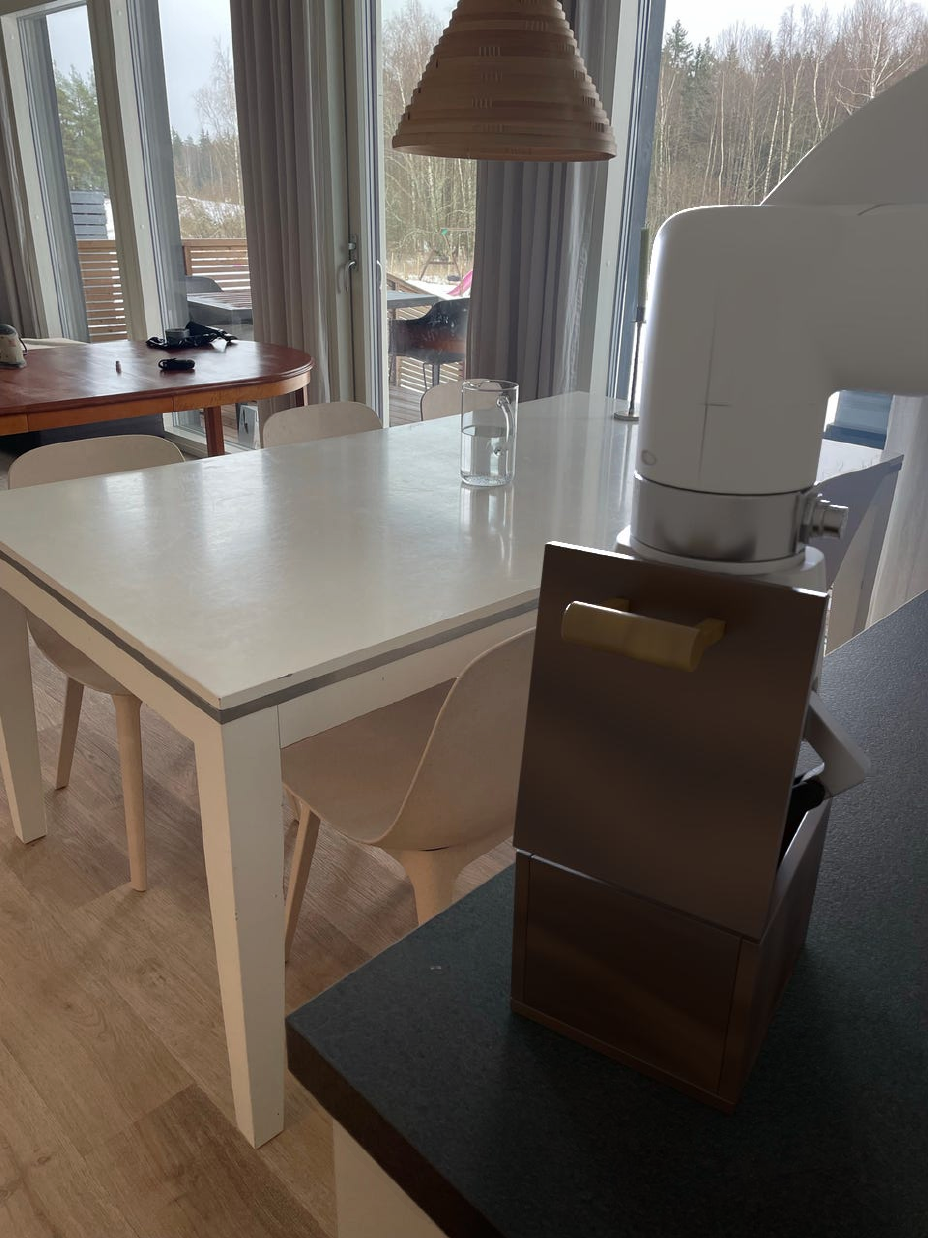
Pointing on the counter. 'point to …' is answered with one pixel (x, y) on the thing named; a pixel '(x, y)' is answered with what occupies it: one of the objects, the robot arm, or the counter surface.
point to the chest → (661, 968)
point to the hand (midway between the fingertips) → (679, 853)
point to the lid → (666, 728)
